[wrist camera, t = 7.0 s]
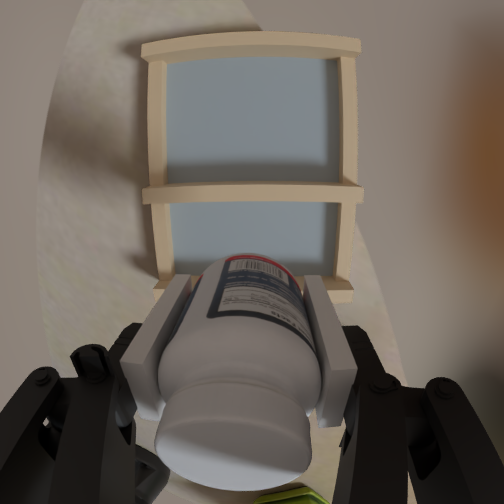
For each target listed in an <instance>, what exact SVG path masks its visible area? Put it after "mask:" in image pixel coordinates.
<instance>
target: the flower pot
mask: <svg viewBox="0 0 504 504" xmlns="http://www.w3.org/2000/svg"><path fill="white" fill-rule="evenodd" d="M253 504H330V503H329V502H328V501H326V500H325V499H324V498H323V497H321V496H320V495H319V494H317V493H316V492H314V491H313V490H312V489H310V488H308V487H302V488H298V489H294V490H289V491H285V492H280V493H274V494H269V495H263V496H261V497H259V498H257V499H256V500H255V501H254V502H253Z"/></svg>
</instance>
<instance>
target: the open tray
mask: <svg viewBox="0 0 504 504" xmlns="http://www.w3.org/2000/svg"><path fill="white" fill-rule="evenodd" d="M360 53H361V42H360V39H356V38H349V37H343V36H335V35H326V34H315V33H303V32H283V31H245V32H225V33H212V34H202V35H193V36H185V37H178V38H172V39H166V40H160V41H155V42H150V43H145V44H142V49H141V58H143V59H144V60H146V61H147V62H148V63H149V68H148V106H147V122H148V162H149V182H150V186H149V187H146V188H143V189H142V199H143V204H151V210H152V221H153V232H154V241H155V250H156V258H157V266H158V274H159V282H158V283H157V284H156V286H155V287H154V288H153V292H154V298H155V302H157V301H158V300H159V298H160V297H161V295H162V294H163V292H164V291H165V289H166V288H167V286H168V285H169V283H170V282H171V280H172V279H173V277H174V276H175V274H191V281H192V290H193V288H194V286H195V284H196V282H197V280H198V279H199V277H200V276H201V274H202V273H203V272H204V271H205V270H206V269H207V268H208V267H209V266H210V265H212V264H213V263H214V262H216V261H218V260H219V259H221V258H224V257H226V256H229V255H233V254H238V253H257V254H261V255H265V256H268V257H270V258H272V259H274V260H276V261H278V262H280V263H281V264H283V265H284V266H285V267H286V268H287V269H288V270H289V271H290V272H291V273H292V274H293V276H294V277H295V279H296V280H297V282H298V284H299V287H300V290H301V293H302V296H303V285H304V275H320V276H321V278H322V281H323V283H324V285H325V288H326V290H327V292H328V295H329V297H330V300H331V302H332V304H335V303H352V301H353V295H354V289H353V287H352V286H351V284H350V282H349V276H350V267H351V258H352V248H353V237H354V225H355V210H356V203H363V194H364V188H363V187H361V186H359V185H357V169H358V168H357V167H358V108H357V107H358V105H357V81H356V66H355V58H356V57H357V56H358V55H359V54H360Z"/></svg>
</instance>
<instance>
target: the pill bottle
mask: <svg viewBox="0 0 504 504" xmlns="http://www.w3.org/2000/svg"><path fill="white" fill-rule="evenodd" d="M321 383H322V382H321V372H320V366H319V361H318V357H317V353H316V349H315V345H314V341H313V337H312V333H311V329H310V325H309V321H308V317H307V313H306V308H305V305H304V300H303V296H302V293H301V290H300V287H299V284H298V282H297V280H296V279H295V277H294V276H293V274H292V273H291V272H290V271H289V270H288V269H287V268H286V267H285V266H284V265H283V264H281V263H280V262H278V261H276V260H274V259H272V258H270V257H268V256H265V255H261V254H257V253H238V254H233V255H229V256H226V257H224V258H221V259H219V260H218V261H216V262H214V263H213V264H212V265H210V266H209V267H208V268H207V269H206V270H205V271H204V272H203V273H202V274H201V276H200V277H199V279H198V280H197V282H196V284H195V286H194V288H193V290H192V292H191V294H190V296H189V298H188V301H187V303H186V305H185V307H184V309H183V311H182V313H181V315H180V318H179V320H178V322H177V324H176V326H175V328H174V330H173V332H172V334H171V336H170V339H169V341H168V343H167V345H166V347H165V349H164V351H163V354H162V357H161V361H160V364H159V368H158V384H159V389H160V392H161V395H162V397H163V400H164V401H165V403H166V405H165V407H164V409H163V413H162V417H161V419H160V422H159V426H158V429H157V432H156V436H155V441H154V444H155V450H156V453H157V455H158V457H159V458H160V459H161V461H162V462H163V463H164V464H165V465H166V466H167V467H168V468H169V469H171V470H172V471H174V472H175V473H177V474H178V475H180V476H182V477H184V478H186V479H188V480H190V481H192V482H195V483H198V484H201V485H204V486H208V487H212V488H217V489H223V490H233V491H255V490H263V489H269V488H273V487H276V486H280V485H283V484H286V483H288V482H290V481H292V480H294V479H296V478H297V477H299V476H300V475H301V474H303V473H304V472H305V471H306V470H307V468H308V466H309V465H310V462H311V459H312V448H311V438H310V423H309V419H308V416H309V415H310V414H311V412H312V411H313V409H314V408H315V406H316V404H317V402H318V399H319V396H320V391H321Z"/></svg>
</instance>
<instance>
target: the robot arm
mask: <svg viewBox="0 0 504 504" xmlns="http://www.w3.org/2000/svg"><path fill="white" fill-rule="evenodd" d="M191 292H192V281H191V274H175V276H174V277H173V279H172V280H171V282H170V283H169V285H168V286H167V288H166V289H165V291H164V292H163V294H162V295H161V297H160V298H159V300H158V301H157V303H156V304H155V306H154V307H153V309H152V310H151V312H150V314H149V315H148V317H147V318H146V320H145V321H144V323H143V324H142V323H132V324H130V325H129V326H128V327H126V328H125V329H124V330H123V331H122V332H121V334H120V335H119V338H117V340H116V341H115V342H114V344H113V345H112V347H111V348H110V350H109V351H107V350H106V348H105V347H103V346H101V345H98V344H89V345H84V346H82V347H79V348H78V349H76V350H75V351H73V353H72V354H71V356H70V358H71V360H72V363H73V365H74V367H75V370H76V372H77V374H78V377H76V378H60V376H59V373H58V372H57V370H56V369H54V368H52V367H40V368H38V369H36V370H34V371H33V372H32V373H31V374H30V375H29V376H28V377H27V378H26V379H25V381H24V382H23V383H22V385H21V386H20V387H19V388H18V390H17V391H16V392H15V394H14V395H13V396H12V398H11V399H10V400H9V402H8V403H7V404H6V406H5V407H4V408H3V410H2V411H1V413H0V504H152V502H153V501H154V500H155V499H156V497H157V496H158V495H159V493H160V492H161V491H162V490H163V488H164V487H165V486H166V484H167V483H168V479H169V475H170V470H169V468H168V467H167V466H166V465H165V464H164V463H163V462H162V461H161V459H159V458H158V457H157V456H155V455H154V454H152V453H150V452H149V451H147V450H145V449H143V448H141V447H139V446H136V445H135V441H136V423H135V420H134V418H133V417H134V414H135V412H136V410H138V412H139V415H140V417H141V419H147V420H153V421H159V422H160V419H161V417H162V413H163V409H164V407H165V405H166V403H165V401H164V400H163V397H162V395H161V392H160V389H159V384H158V368H159V364H160V361H161V357H162V354H163V351H164V349H165V347H166V345H167V343H168V341H169V339H170V336H171V334H172V332H173V330H174V328H175V326H176V324H177V322H178V320H179V318H180V315H181V313H182V311H183V309H184V307H185V305H186V303H187V301H188V298H189V296H190V294H191ZM303 300H304V305H305V308H306V313H307V317H308V321H309V325H310V329H311V333H312V337H313V341H314V345H315V349H316V353H317V357H318V361H319V366H320V372H321V382H322V383H321V391H320V396H319V399H318V402H317V404H316V406H315V409H316V415H317V421H318V428H325V427H336V426H341V423H342V420H343V417H344V420H345V424H346V429H345V432H344V434H343V437H342V440H341V442H340V445H339V447H342V448H341V455H340V461H339V468H338V474H337V479H336V485H335V490H334V495H333V500H332V504H407V498H408V472H409V476H410V479H411V483H412V486H413V490H414V493H415V497H416V501H417V504H504V466H503V464H502V461H501V459H500V458H499V455H498V453H497V451H496V449H495V447H494V445H493V444H492V442H491V440H490V438H489V436H488V434H487V432H486V430H485V428H484V427H483V425H482V423H481V421H480V419H479V418H478V416H477V414H476V412H475V411H474V409H473V407H472V406H471V404H470V402H469V401H468V399H467V397H466V395H465V394H464V392H463V391H462V389H461V387H460V386H459V385H458V384H457V383H456V382H454V381H453V380H451V379H448V378H445V377H437V378H434V379H431V380H430V381H429V382H428V383H427V385H426V387H425V389H424V388H411V387H405V386H401V383H400V381H399V380H398V379H397V378H396V377H394V376H392V375H390V374H388V373H386V372H385V370H384V368H383V366H382V364H381V362H380V359H379V357H378V355H377V353H376V351H375V349H374V347H373V345H372V343H371V342H370V339H369V337H368V335H367V333H366V332H365V331H364V330H363V329H361V328H360V327H359V326H358V325H356V326H341V324H340V322H339V319H338V317H337V314H336V312H335V309H334V307H333V304H332V302H331V300H330V297H329V295H328V292H327V290H326V288H325V285H324V283H323V281H322V278H321V276H320V275H304V285H303ZM46 418H47V419H48V421H49V423H48V424H47V425H46V426H44V424H43V422H44V420H45V419H46Z"/></svg>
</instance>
